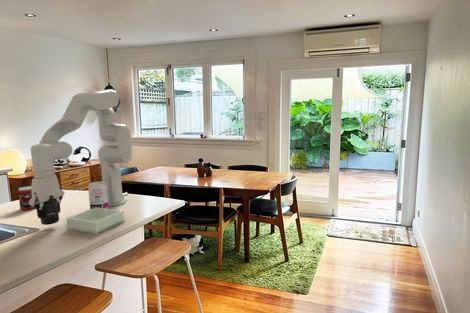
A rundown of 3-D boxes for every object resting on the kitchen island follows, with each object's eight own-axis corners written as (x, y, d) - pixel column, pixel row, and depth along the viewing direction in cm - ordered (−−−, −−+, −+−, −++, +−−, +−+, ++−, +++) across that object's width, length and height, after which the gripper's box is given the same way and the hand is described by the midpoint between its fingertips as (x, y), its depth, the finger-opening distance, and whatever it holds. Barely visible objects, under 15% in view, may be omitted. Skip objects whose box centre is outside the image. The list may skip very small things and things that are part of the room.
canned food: (16, 210, 165) (14, 189, 163) (31, 205, 172) (29, 185, 170) (27, 211, 162) (24, 190, 160) (41, 207, 169) (39, 186, 168)
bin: (96, 217, 150) (95, 207, 149) (124, 221, 144) (123, 210, 144) (67, 229, 135) (66, 218, 135) (96, 234, 130) (95, 222, 129)
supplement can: (104, 209, 163) (102, 180, 161) (111, 213, 157) (109, 182, 155) (87, 213, 157) (85, 183, 155) (94, 217, 151) (92, 185, 149)
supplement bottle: (51, 225, 133) (47, 197, 131) (37, 224, 134) (33, 197, 132) (63, 219, 140) (60, 192, 138) (49, 219, 141) (46, 192, 139)
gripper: (56, 169, 143) (60, 208, 146) (17, 177, 127) (23, 221, 130) (68, 170, 140) (73, 209, 143) (30, 179, 124) (36, 223, 127)
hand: (49, 214), depth 136 cm, fingers closed on supplement bottle, 6 cm apart
